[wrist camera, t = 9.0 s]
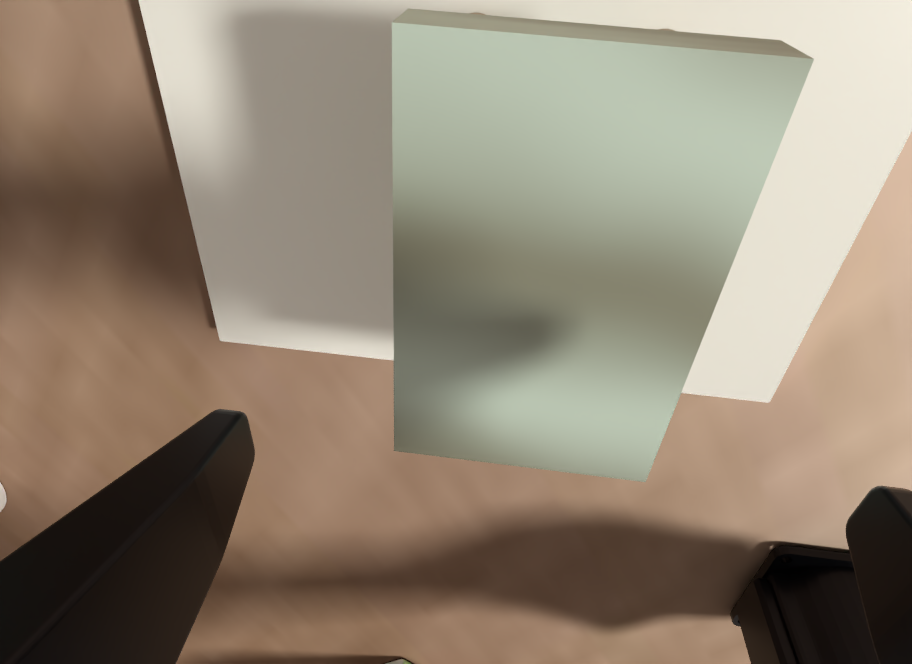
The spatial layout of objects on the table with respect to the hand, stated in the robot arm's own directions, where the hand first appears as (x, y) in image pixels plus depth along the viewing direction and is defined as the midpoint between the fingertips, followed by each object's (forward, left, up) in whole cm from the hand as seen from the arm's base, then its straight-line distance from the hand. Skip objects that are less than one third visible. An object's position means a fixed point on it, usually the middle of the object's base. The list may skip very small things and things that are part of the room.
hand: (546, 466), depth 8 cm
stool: (0, 0, -10) cm, 10 cm away
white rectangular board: (+1, 0, -11) cm, 11 cm away
